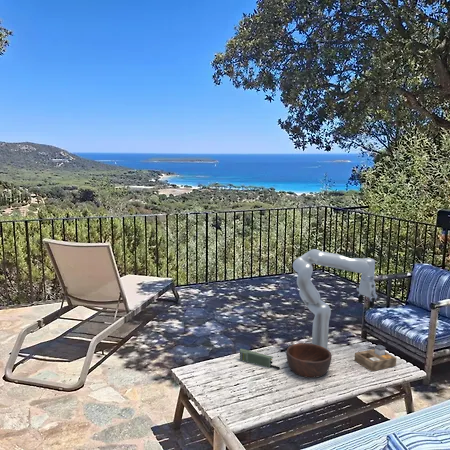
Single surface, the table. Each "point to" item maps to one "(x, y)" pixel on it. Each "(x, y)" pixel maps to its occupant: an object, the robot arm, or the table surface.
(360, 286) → the robot arm
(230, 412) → the table surface
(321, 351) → the wooden bowl
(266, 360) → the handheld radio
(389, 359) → the socket block
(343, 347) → the table surface
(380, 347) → the plug
